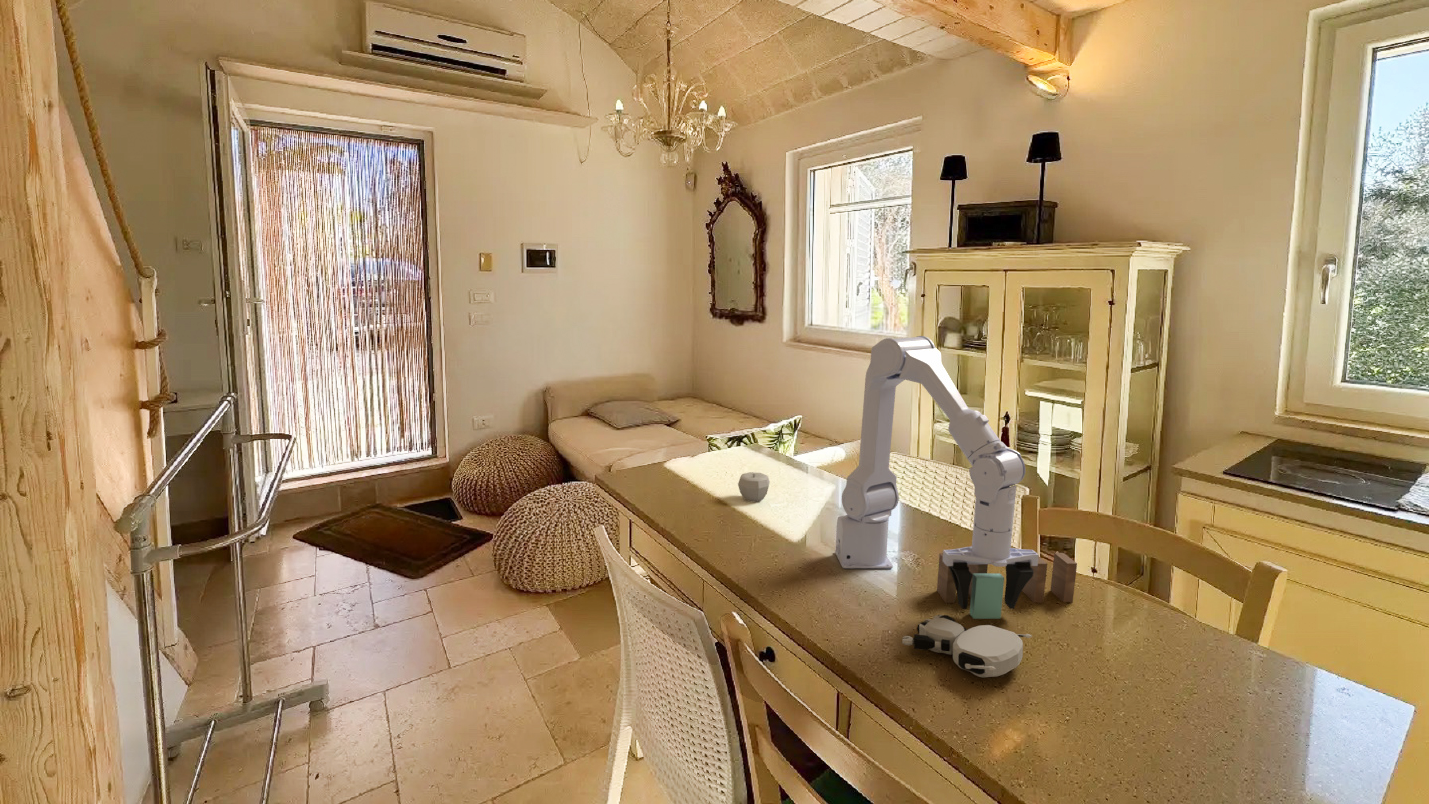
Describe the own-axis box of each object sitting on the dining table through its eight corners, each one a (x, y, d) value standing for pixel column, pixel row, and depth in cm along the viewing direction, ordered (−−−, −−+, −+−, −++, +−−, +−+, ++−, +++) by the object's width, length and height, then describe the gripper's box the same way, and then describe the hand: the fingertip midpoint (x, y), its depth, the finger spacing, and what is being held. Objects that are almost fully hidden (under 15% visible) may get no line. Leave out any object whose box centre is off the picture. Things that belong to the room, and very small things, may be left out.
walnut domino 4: (1063, 602, 117) (1067, 563, 116) (1050, 590, 122) (1054, 552, 120) (1072, 602, 117) (1077, 563, 116) (1059, 590, 122) (1063, 552, 120)
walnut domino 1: (945, 602, 117) (948, 563, 116) (936, 590, 121) (939, 553, 120) (955, 602, 117) (958, 563, 116) (945, 590, 121) (948, 553, 120)
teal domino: (1000, 618, 112) (1004, 577, 110) (973, 618, 112) (976, 577, 110) (996, 613, 113) (999, 573, 112) (969, 613, 113) (972, 573, 112)
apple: (731, 501, 167) (731, 474, 166) (747, 492, 174) (747, 467, 173) (760, 507, 163) (761, 480, 162) (775, 498, 170) (776, 472, 169)
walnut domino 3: (1033, 602, 117) (1037, 563, 116) (1022, 590, 122) (1025, 552, 120) (1043, 602, 117) (1047, 563, 116) (1031, 590, 122) (1034, 552, 120)
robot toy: (896, 659, 101) (998, 697, 91) (896, 630, 101) (998, 664, 90) (937, 630, 110) (1035, 661, 99) (937, 603, 109) (1036, 631, 99)
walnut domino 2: (975, 602, 117) (978, 563, 116) (965, 590, 121) (968, 553, 120) (984, 602, 117) (987, 563, 116) (974, 590, 121) (977, 552, 120)
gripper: (956, 535, 106) (950, 618, 108) (1051, 535, 106) (1042, 617, 108) (940, 519, 112) (934, 597, 115) (1029, 519, 113) (1021, 597, 115)
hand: (985, 605), depth 112 cm, fingers open, 7 cm apart
